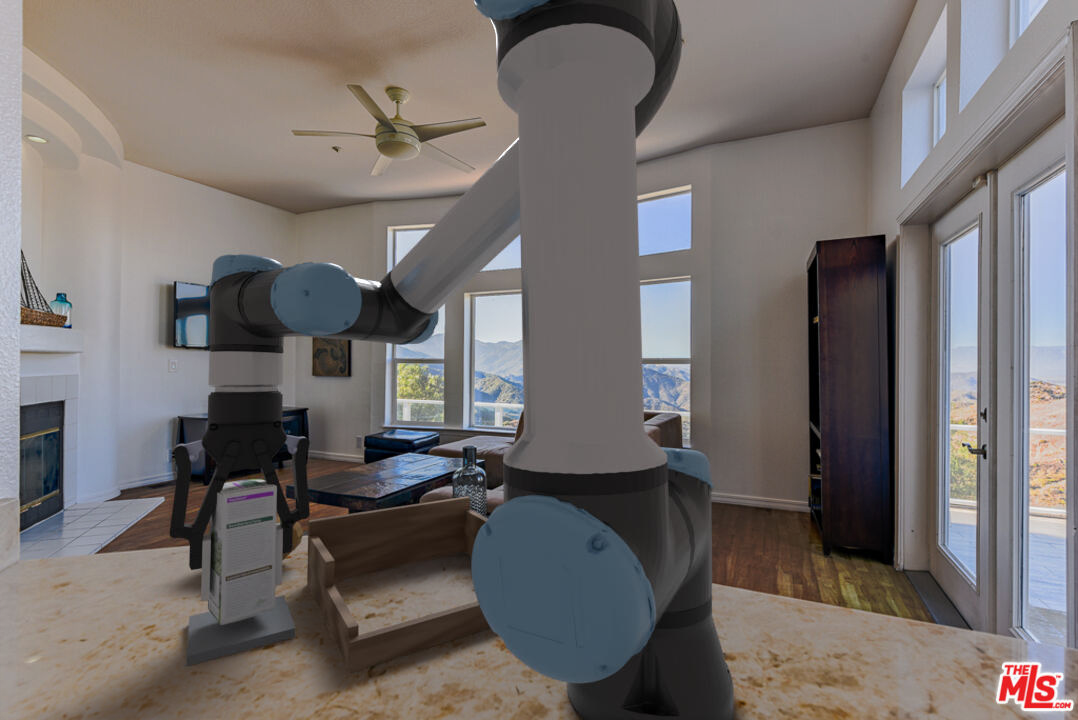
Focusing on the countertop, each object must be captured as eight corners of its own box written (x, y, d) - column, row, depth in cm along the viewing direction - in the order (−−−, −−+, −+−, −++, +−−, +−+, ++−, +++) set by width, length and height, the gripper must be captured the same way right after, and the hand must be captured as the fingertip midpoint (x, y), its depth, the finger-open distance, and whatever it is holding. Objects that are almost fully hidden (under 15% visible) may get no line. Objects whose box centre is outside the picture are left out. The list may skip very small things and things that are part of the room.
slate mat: (295, 636, 55) (295, 628, 55) (186, 666, 50) (186, 656, 50) (283, 602, 63) (283, 595, 63) (189, 624, 58) (189, 616, 58)
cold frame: (553, 607, 63) (553, 536, 63) (350, 673, 49) (351, 581, 49) (467, 549, 83) (467, 496, 84) (307, 584, 69) (308, 520, 69)
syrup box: (276, 609, 57) (281, 483, 57) (217, 628, 52) (222, 491, 53) (260, 594, 61) (264, 476, 61) (204, 610, 56) (209, 483, 57)
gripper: (328, 387, 66) (325, 560, 65) (144, 389, 55) (138, 597, 54) (340, 389, 60) (337, 580, 59) (137, 391, 49) (129, 625, 48)
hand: (242, 588), depth 57 cm, fingers closed on syrup box, 6 cm apart
